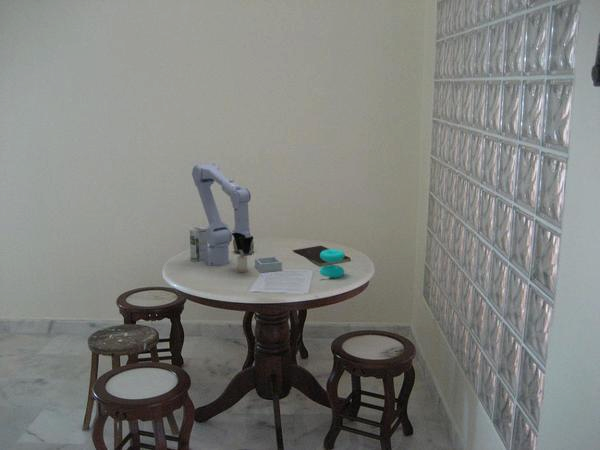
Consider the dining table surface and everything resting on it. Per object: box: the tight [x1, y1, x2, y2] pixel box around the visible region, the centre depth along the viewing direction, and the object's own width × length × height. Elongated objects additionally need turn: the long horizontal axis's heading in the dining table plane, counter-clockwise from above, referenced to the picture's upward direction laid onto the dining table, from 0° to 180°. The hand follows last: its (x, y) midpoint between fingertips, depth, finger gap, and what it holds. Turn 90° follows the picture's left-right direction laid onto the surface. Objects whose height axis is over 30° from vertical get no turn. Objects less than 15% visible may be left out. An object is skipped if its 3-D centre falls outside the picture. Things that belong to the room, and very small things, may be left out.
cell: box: [236, 254, 248, 272], centre depth 271 cm, size 4×4×7 cm
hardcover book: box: [292, 245, 351, 267], centre depth 295 cm, size 16×23×2 cm
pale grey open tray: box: [254, 256, 283, 273], centre depth 275 cm, size 9×9×4 cm
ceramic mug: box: [232, 234, 255, 256], centre depth 303 cm, size 11×8×8 cm
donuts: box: [319, 248, 346, 279], centre depth 269 cm, size 10×10×10 cm
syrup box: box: [189, 226, 209, 263], centre depth 290 cm, size 6×6×14 cm
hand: (243, 251), depth 270 cm, fingers open, 7 cm apart
